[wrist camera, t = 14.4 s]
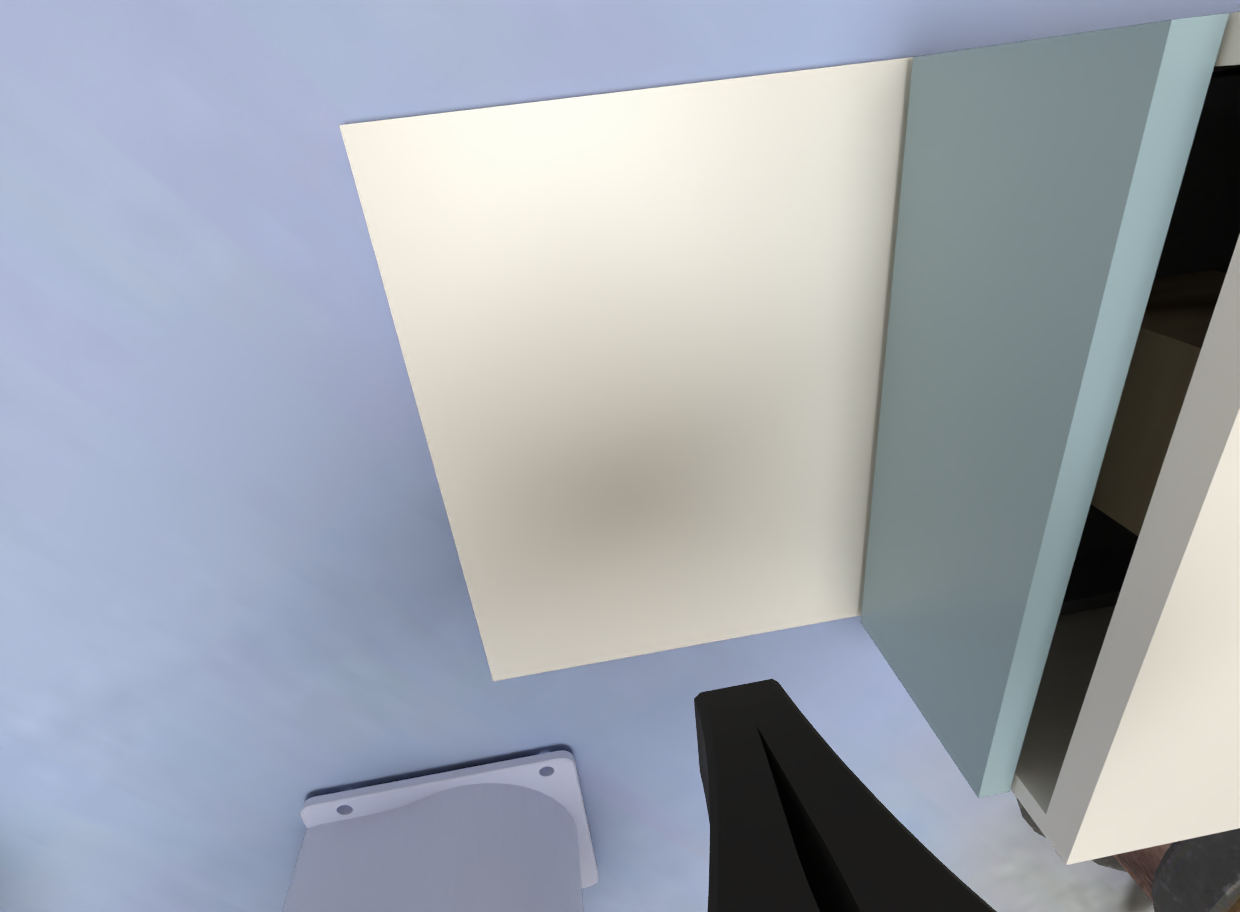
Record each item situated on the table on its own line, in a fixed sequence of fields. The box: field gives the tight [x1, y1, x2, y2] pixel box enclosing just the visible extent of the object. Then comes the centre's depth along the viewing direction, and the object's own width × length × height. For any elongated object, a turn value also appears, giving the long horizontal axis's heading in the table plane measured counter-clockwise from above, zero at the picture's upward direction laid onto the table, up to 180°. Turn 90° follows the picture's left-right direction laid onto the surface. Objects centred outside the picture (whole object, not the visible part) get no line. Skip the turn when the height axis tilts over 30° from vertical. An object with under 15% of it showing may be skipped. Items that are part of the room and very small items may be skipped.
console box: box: [339, 12, 1240, 865], centre depth 14 cm, size 24×16×9 cm, turn 96°
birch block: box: [1091, 270, 1226, 537], centre depth 15 cm, size 4×4×5 cm
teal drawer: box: [861, 13, 1240, 798], centre depth 15 cm, size 11×16×6 cm
